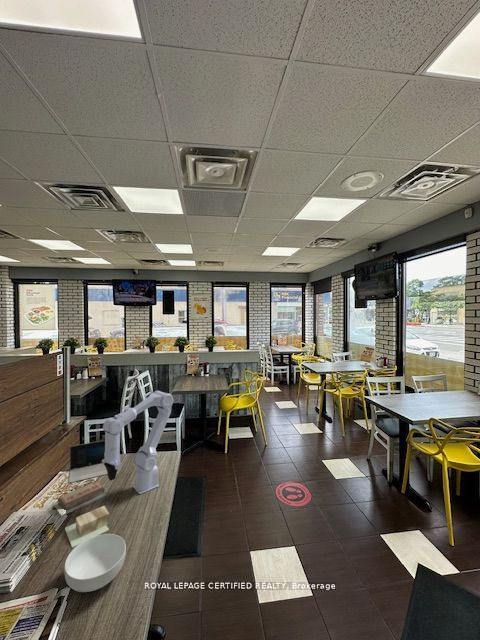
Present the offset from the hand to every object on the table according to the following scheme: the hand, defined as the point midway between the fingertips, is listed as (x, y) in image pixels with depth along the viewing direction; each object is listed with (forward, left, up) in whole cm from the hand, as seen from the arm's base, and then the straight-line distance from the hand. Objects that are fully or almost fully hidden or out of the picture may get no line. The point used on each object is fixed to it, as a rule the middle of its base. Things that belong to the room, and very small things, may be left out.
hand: (112, 479), depth 119 cm
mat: (+12, +9, -10) cm, 18 cm away
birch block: (+5, +9, -8) cm, 13 cm away
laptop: (0, -33, -11) cm, 35 cm away
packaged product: (+9, -11, -11) cm, 18 cm away
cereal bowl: (+15, +32, -11) cm, 37 cm away
